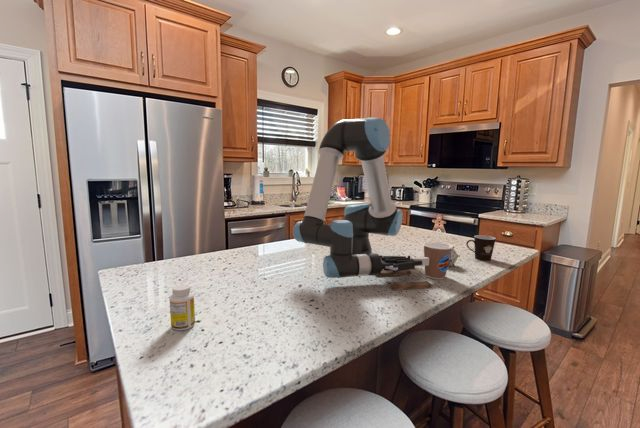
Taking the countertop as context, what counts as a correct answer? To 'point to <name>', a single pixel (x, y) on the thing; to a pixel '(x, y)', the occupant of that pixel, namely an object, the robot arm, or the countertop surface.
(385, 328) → the countertop surface
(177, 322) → the supplement bottle
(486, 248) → the coffee mug
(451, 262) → the game die
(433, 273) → the coffee cup
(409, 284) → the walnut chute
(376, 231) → the robot arm
